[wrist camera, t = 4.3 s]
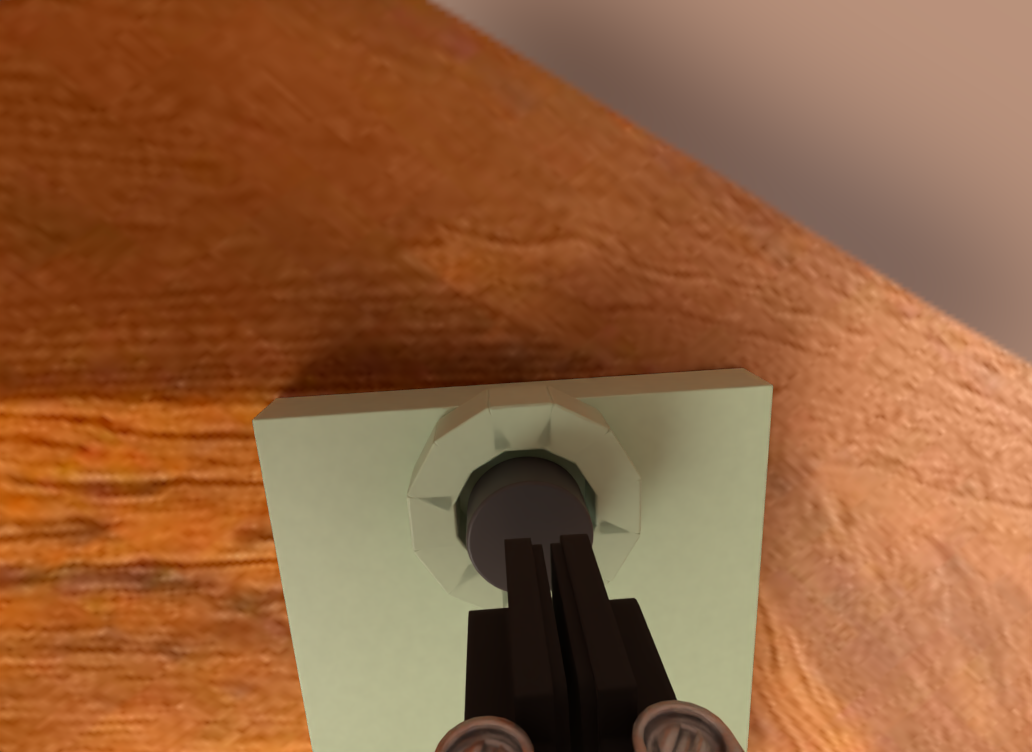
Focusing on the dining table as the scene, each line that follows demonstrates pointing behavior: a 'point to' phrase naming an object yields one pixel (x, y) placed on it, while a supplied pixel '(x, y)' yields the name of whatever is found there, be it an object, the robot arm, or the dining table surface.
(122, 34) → the dining table surface
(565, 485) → the button
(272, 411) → the scale
